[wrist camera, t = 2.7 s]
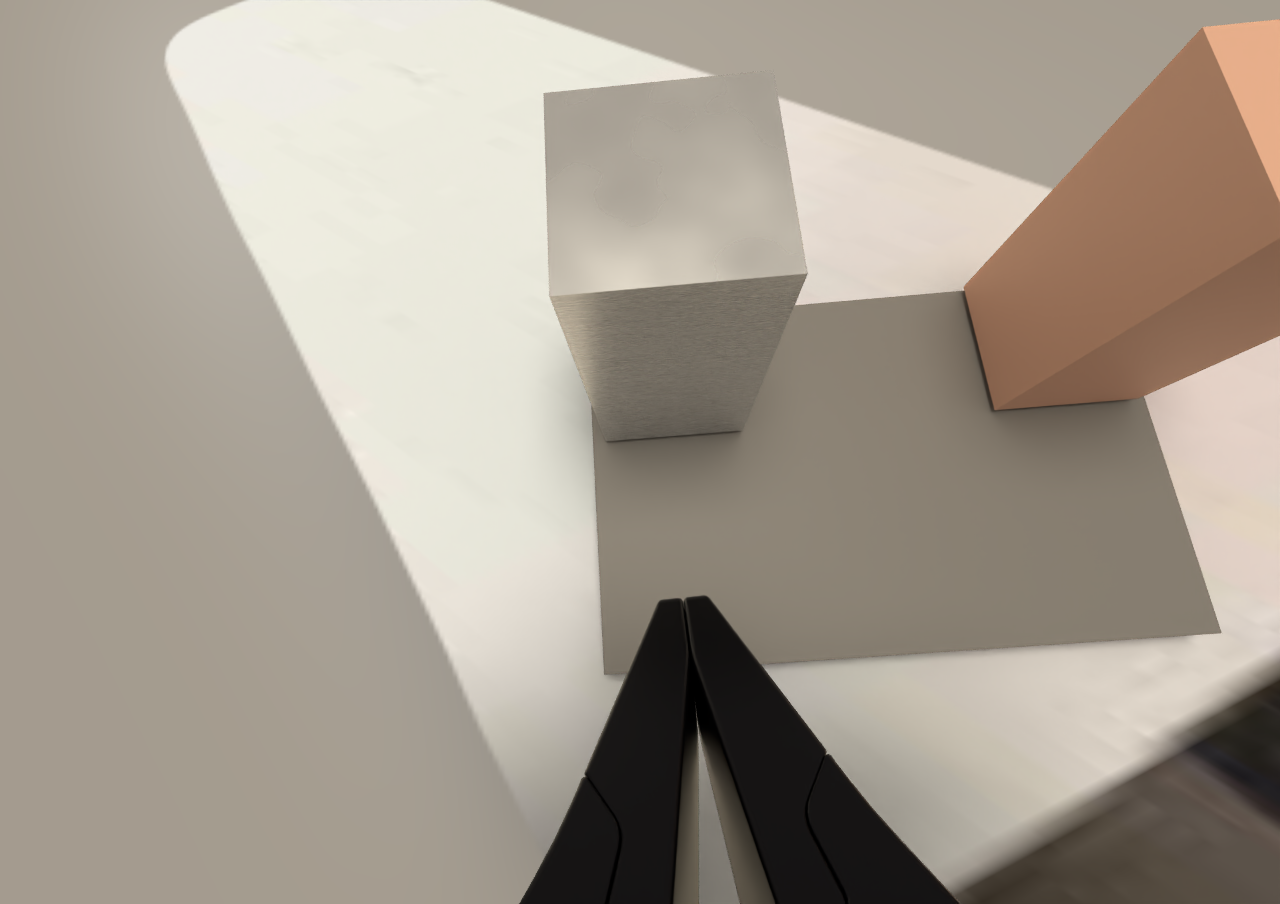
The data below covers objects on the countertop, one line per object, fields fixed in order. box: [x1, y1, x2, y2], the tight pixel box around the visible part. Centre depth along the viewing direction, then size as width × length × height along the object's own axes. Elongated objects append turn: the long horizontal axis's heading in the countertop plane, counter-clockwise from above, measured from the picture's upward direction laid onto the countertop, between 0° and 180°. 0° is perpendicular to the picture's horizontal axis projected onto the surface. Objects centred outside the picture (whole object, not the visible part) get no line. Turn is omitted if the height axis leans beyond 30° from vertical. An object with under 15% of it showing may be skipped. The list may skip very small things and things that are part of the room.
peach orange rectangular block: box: [964, 19, 1280, 410], centre depth 16 cm, size 5×5×10 cm
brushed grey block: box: [544, 70, 808, 441], centre depth 16 cm, size 5×5×10 cm
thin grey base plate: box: [591, 291, 1221, 675], centre depth 21 cm, size 13×20×1 cm, turn 94°
